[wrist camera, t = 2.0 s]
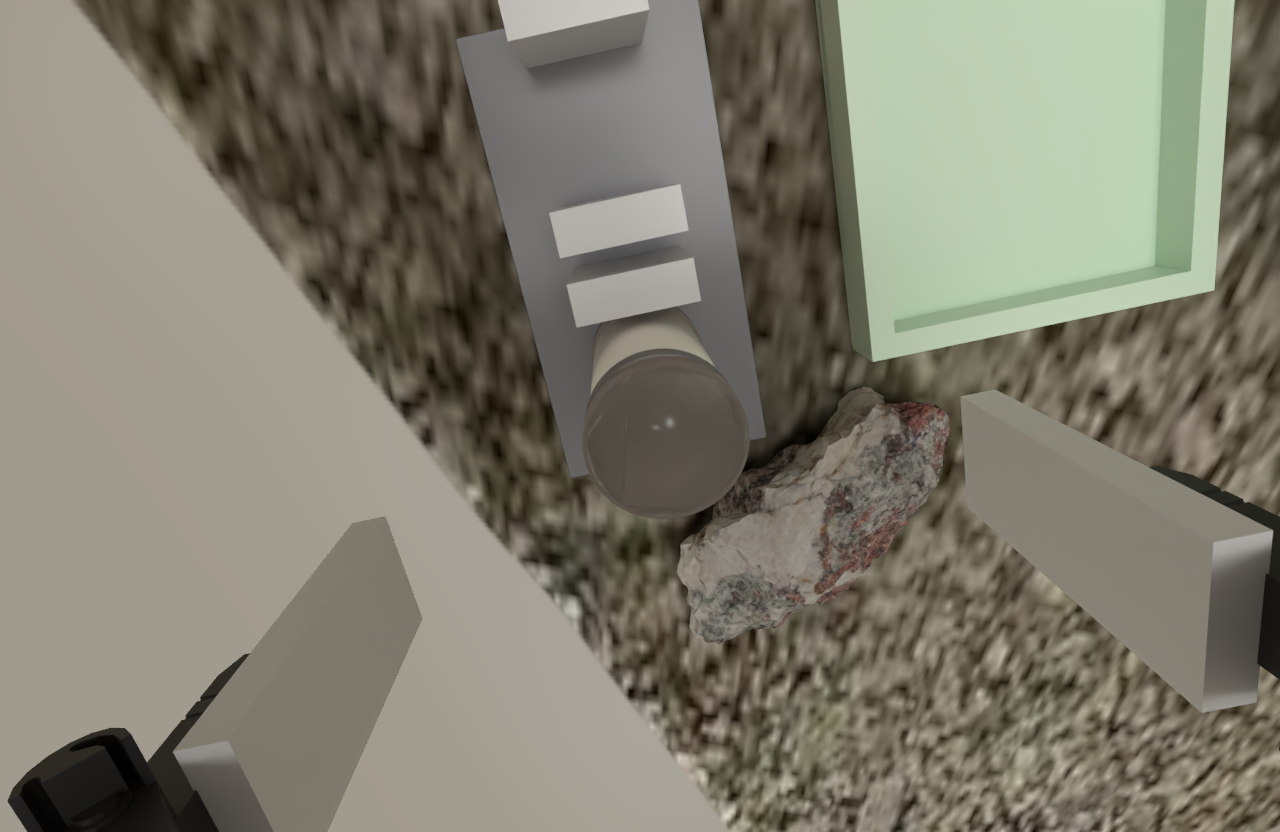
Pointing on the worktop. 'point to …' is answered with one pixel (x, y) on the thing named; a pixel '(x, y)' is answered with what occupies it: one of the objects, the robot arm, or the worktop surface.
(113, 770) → the robot arm
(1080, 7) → the tray
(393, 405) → the worktop surface
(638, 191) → the panel
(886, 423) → the mineral rock
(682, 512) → the cylinder
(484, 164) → the worktop surface
